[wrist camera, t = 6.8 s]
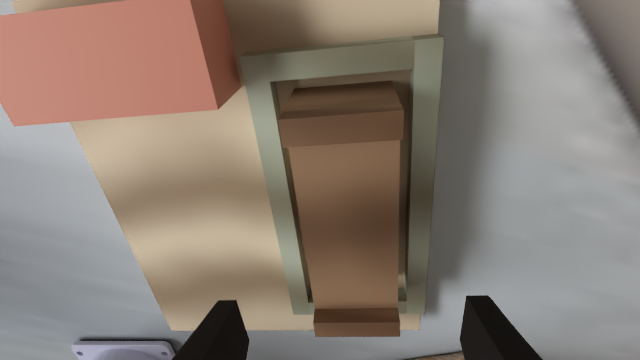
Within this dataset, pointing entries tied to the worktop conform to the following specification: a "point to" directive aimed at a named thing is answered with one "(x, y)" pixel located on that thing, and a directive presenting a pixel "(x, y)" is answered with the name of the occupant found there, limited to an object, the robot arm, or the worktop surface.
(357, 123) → the brown u-shaped block
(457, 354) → the decorative jar
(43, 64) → the pink rectangular block
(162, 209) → the jig
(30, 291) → the worktop surface
